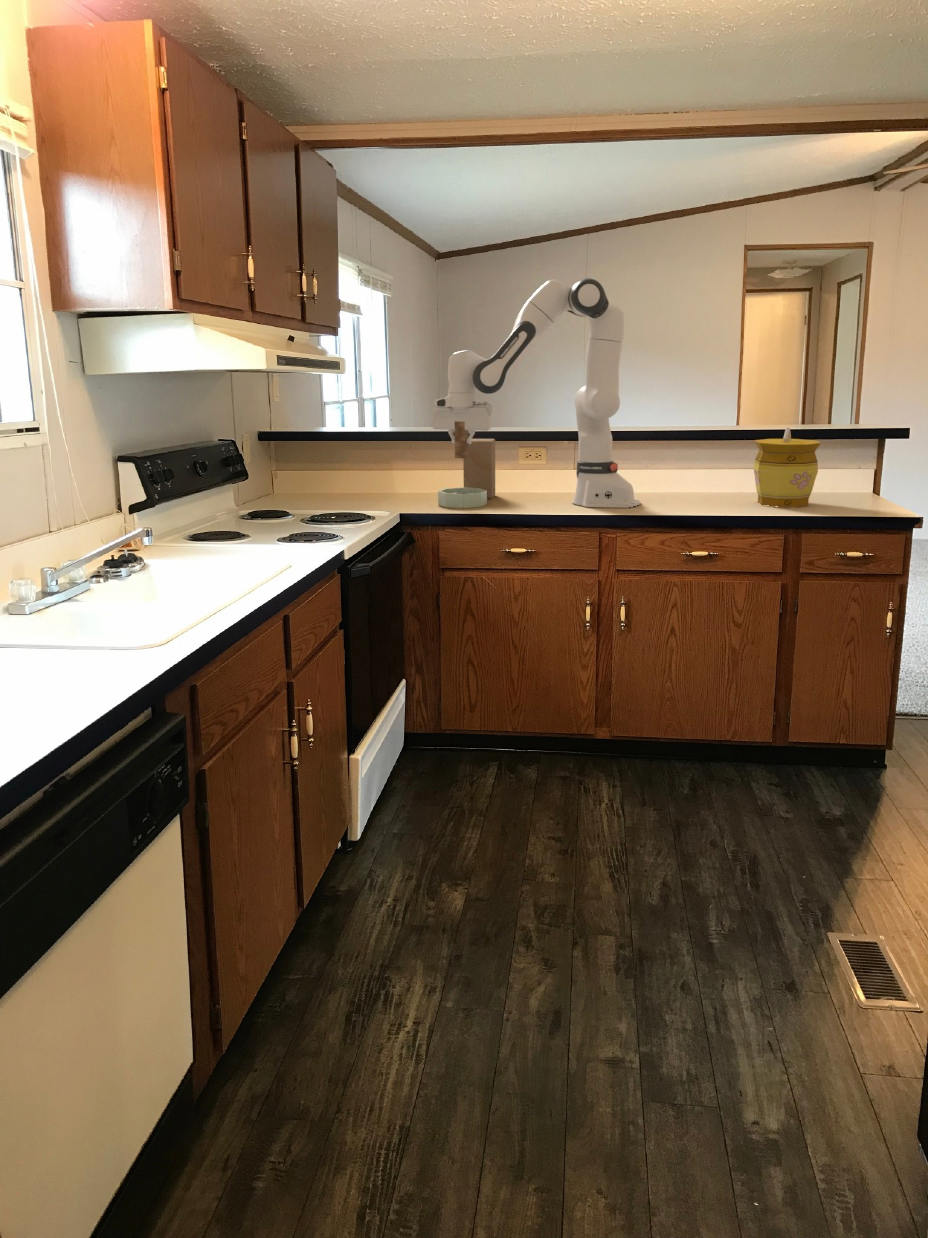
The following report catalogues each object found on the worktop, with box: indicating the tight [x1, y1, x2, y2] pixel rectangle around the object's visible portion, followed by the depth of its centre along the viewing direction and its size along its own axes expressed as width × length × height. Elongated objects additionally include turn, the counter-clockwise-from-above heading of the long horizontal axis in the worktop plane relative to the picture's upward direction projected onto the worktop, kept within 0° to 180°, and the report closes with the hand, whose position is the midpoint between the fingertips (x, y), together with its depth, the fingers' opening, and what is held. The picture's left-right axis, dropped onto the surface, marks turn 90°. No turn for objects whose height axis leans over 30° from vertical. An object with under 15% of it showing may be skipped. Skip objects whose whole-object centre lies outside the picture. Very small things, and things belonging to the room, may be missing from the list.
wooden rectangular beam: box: [454, 421, 469, 459], centre depth 328 cm, size 4×4×12 cm
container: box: [752, 427, 822, 509], centre depth 325 cm, size 21×21×25 cm
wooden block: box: [462, 438, 496, 500], centre depth 348 cm, size 10×10×20 cm
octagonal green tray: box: [437, 486, 488, 509], centre depth 334 cm, size 15×15×5 cm
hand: (461, 443), depth 329 cm, fingers closed on wooden rectangular beam, 3 cm apart
